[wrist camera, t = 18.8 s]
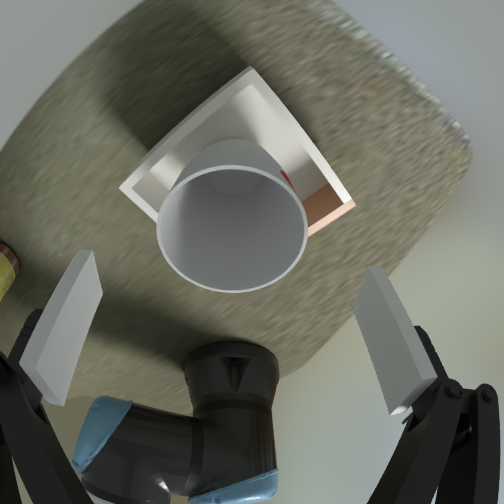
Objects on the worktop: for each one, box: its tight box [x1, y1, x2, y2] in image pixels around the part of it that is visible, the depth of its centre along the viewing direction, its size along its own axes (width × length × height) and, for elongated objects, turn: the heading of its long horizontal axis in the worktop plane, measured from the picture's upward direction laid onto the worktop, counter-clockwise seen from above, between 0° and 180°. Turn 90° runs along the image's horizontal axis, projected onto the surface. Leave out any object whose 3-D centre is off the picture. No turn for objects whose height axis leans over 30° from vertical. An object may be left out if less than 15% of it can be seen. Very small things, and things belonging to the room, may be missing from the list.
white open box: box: [119, 66, 356, 237], centre depth 25 cm, size 12×12×8 cm
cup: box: [157, 138, 308, 293], centre depth 21 cm, size 8×8×10 cm
